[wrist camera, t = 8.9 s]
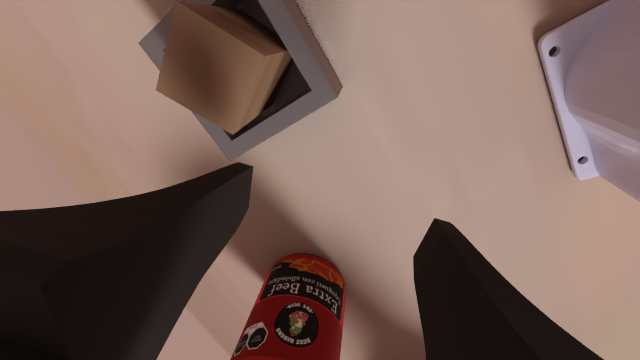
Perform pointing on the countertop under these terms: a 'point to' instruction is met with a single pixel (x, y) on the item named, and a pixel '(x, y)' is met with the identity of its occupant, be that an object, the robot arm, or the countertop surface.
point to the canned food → (296, 313)
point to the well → (297, 87)
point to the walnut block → (222, 64)
